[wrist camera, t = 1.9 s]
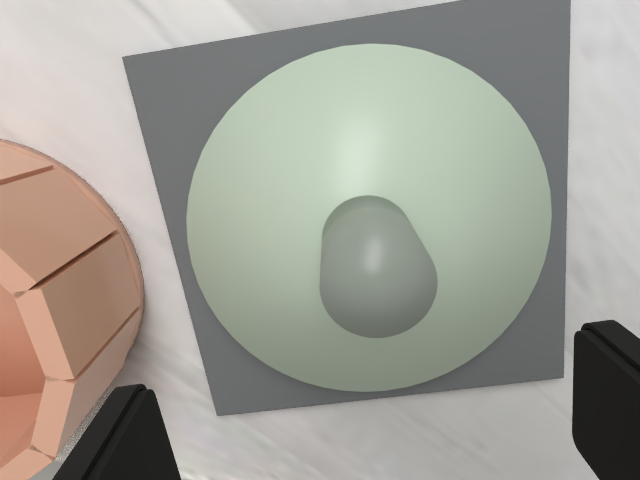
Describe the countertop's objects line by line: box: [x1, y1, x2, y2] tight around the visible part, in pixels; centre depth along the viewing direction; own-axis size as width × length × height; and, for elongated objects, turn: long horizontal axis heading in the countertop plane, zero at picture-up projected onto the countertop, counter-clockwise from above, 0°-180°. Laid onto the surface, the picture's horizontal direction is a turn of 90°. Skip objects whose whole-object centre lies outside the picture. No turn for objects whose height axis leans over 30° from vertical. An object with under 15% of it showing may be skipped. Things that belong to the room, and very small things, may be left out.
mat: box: [122, 0, 571, 416], centre depth 21 cm, size 18×18×1 cm
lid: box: [186, 44, 552, 392], centre depth 18 cm, size 16×16×6 cm
